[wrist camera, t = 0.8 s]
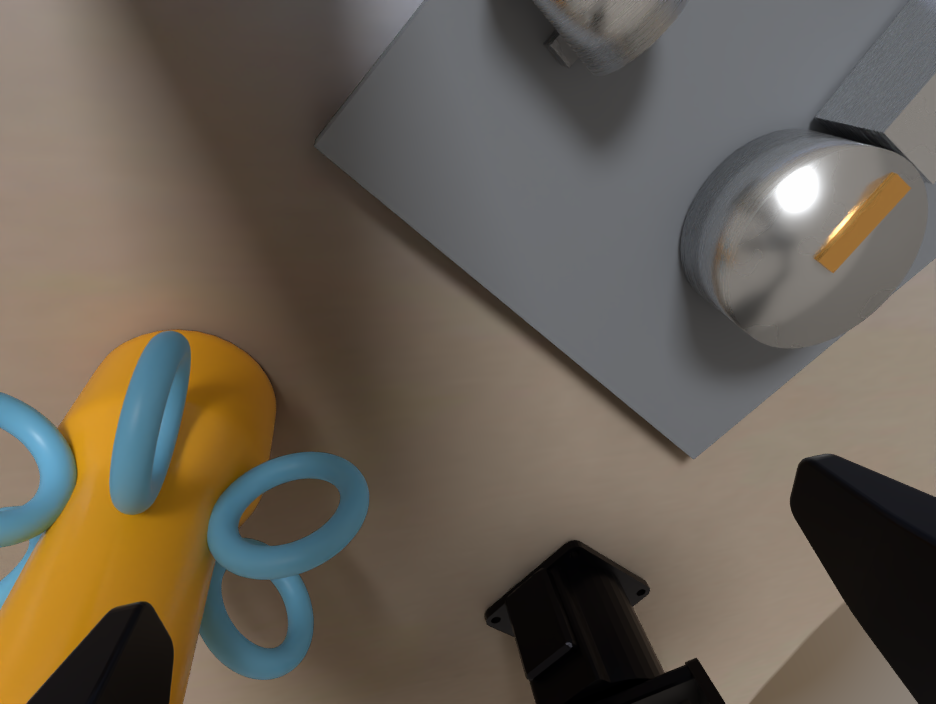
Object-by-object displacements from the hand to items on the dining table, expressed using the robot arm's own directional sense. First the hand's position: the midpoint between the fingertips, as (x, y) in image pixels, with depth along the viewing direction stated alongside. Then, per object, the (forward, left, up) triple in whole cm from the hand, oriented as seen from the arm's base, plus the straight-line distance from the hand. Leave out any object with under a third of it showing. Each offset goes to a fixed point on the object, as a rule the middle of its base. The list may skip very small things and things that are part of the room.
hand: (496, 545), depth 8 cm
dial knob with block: (-9, -11, -12) cm, 19 cm away
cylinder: (+2, +9, -14) cm, 17 cm away
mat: (-6, -8, -13) cm, 17 cm away
